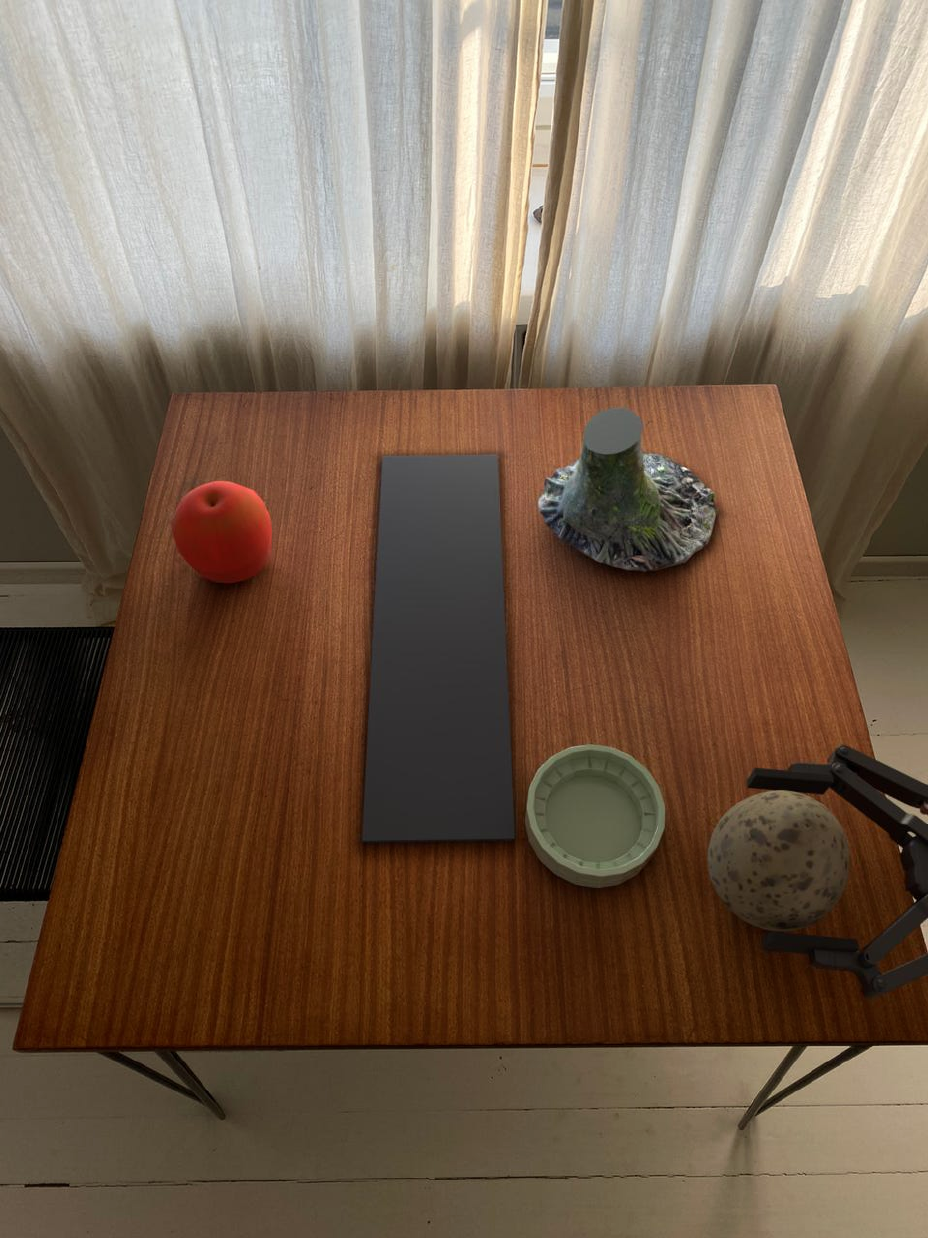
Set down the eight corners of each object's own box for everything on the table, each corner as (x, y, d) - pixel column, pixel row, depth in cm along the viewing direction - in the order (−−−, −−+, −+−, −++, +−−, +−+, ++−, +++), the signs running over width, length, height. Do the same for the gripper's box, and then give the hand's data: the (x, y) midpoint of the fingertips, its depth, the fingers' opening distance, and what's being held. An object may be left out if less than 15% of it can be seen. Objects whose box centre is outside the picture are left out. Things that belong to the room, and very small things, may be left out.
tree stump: (744, 563, 98) (752, 468, 82) (573, 618, 100) (549, 535, 84) (687, 442, 107) (685, 335, 91) (531, 494, 109) (503, 398, 93)
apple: (272, 519, 101) (251, 448, 92) (288, 586, 96) (267, 518, 86) (184, 539, 100) (153, 469, 90) (195, 609, 94) (164, 542, 85)
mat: (515, 841, 80) (515, 839, 79) (362, 843, 80) (361, 841, 79) (497, 457, 106) (497, 454, 106) (382, 459, 106) (382, 455, 106)
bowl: (598, 918, 76) (604, 906, 73) (497, 823, 81) (498, 807, 78) (684, 823, 81) (693, 807, 77) (583, 738, 86) (588, 720, 82)
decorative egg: (725, 804, 82) (770, 733, 69) (835, 868, 78) (904, 806, 66) (672, 900, 77) (711, 843, 64) (788, 973, 73) (852, 927, 61)
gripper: (1041, 1055, 67) (759, 1028, 68) (968, 756, 80) (735, 737, 81) (1101, 1041, 60) (789, 1011, 62) (1010, 719, 74) (757, 699, 75)
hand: (757, 855), depth 71 cm, fingers open, 13 cm apart
